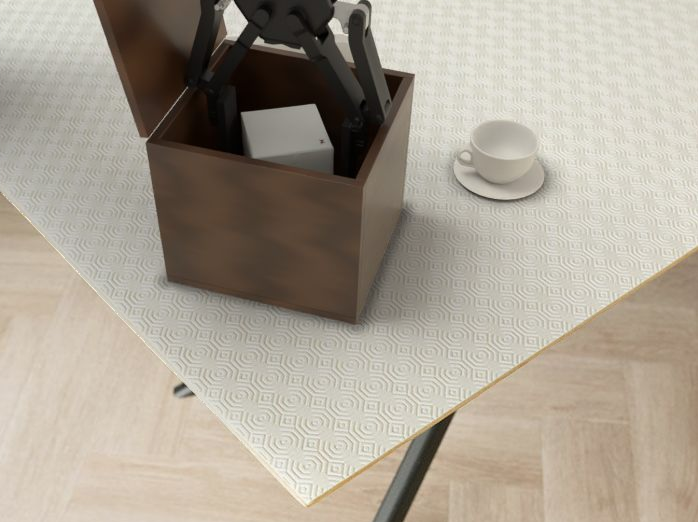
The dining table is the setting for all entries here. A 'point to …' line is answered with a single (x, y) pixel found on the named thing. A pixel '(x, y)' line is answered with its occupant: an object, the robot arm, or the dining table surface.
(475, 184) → the teacup
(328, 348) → the dining table surface
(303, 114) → the white packaging box
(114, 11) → the chest lid
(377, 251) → the chest
